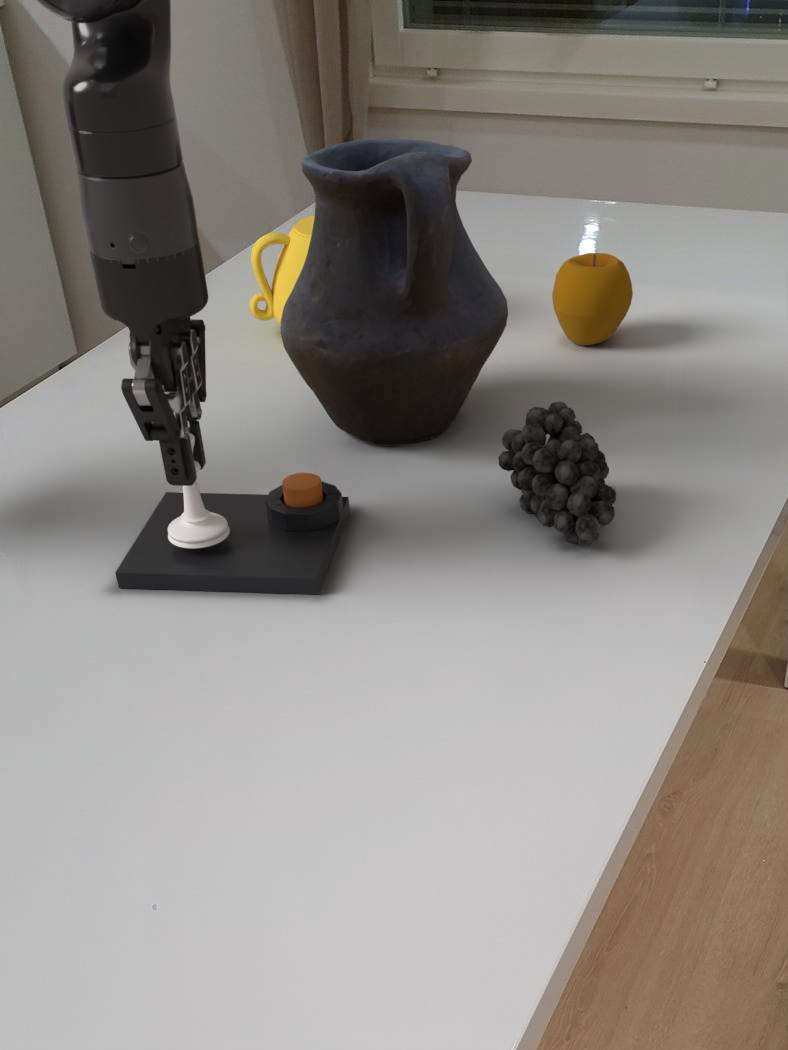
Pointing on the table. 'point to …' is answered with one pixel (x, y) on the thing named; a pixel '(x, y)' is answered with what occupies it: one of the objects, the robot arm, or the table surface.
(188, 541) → the chess piece
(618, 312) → the apple
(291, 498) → the button
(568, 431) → the fruit
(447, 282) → the pitcher
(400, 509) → the table surface
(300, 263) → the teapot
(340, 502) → the scale
